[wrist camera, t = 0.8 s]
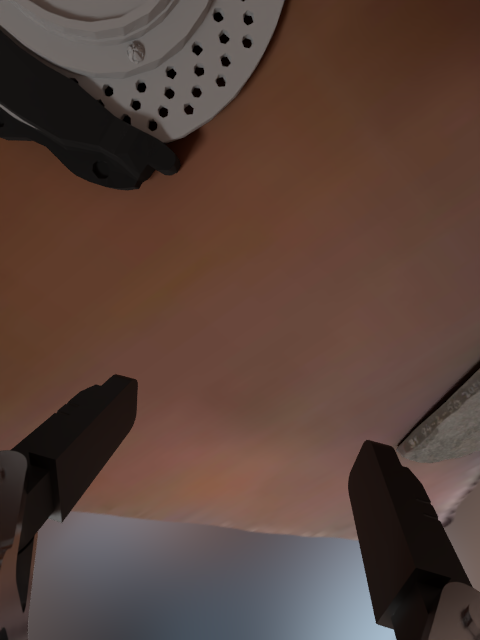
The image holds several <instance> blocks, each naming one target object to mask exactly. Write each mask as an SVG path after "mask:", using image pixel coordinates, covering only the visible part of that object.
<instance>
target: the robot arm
mask: <svg viewBox="0 0 480 640" xmlns="http://www.w3.org/2000/svg"><path fill="white" fill-rule="evenodd" d="M137 390H138V382H137V380H136V379H132V378H129V377H125V376H121V375H117V374H115V375H113V376H112V377H111V378H109V379H108V380H107V381H106V382H105V383H104V384H103V385H102V386H99V385H94V386H92V387H89V388H87V389H85V390H83V391H81V392H79V393H78V394H77V395H76V396H74V397H73V398H72V399H71V400H70V401H69V402H68V403H67V404H65V405H64V406H63V407H61V408H60V409H59V410H58V411H57V413H54V414H53V415H52V416H51V417H50V418H48V419H47V420H46V421H45V422H44V423H42V424H41V425H40V426H39V427H38V428H37V429H35V430H34V431H33V432H32V433H31V434H29V435H28V436H27V437H26V438H25V439H23V440H22V441H21V442H20V443H19V444H18V445H16V446H15V447H14V448H13V449H11V450H5V451H0V640H28V619H29V609H30V600H31V591H32V581H33V571H34V564H35V555H36V545H37V537H38V532H37V531H38V530H39V529H40V528H41V526H42V525H43V524H44V523H45V521H46V520H47V519H52V520H54V521H58V522H61V523H62V522H63V520H64V519H65V518H66V517H67V515H68V514H69V513H70V511H71V510H72V509H73V507H74V506H75V504H76V503H77V502H78V500H79V499H80V498H81V496H82V495H83V494H84V492H85V491H86V490H87V488H88V487H89V486H90V484H91V483H92V482H93V480H94V479H95V477H96V476H97V475H98V473H99V472H100V471H101V469H102V468H103V467H104V465H105V464H106V463H107V461H108V460H109V459H110V457H111V456H112V455H113V453H114V452H115V450H116V449H117V448H118V446H119V445H120V444H121V442H122V441H123V440H124V438H125V437H126V436H127V434H128V433H129V432H130V430H131V428H132V426H133V424H134V421H135V418H136V411H137ZM348 491H349V497H350V501H351V506H352V511H353V516H354V520H355V525H356V530H357V535H358V539H359V544H360V549H361V554H362V558H363V563H364V568H365V573H366V577H367V582H368V587H369V592H370V596H371V601H372V606H373V611H374V615H375V620H376V624H378V625H382V626H385V627H388V628H391V629H394V631H395V635H396V639H397V640H480V592H479V591H477V590H476V589H474V588H473V587H472V585H471V583H470V581H469V579H468V577H467V575H466V573H465V571H464V569H463V567H462V565H461V563H460V561H459V559H458V557H457V554H456V552H455V550H454V548H453V546H452V544H451V542H450V540H449V538H448V536H447V534H446V532H445V530H444V528H443V526H442V524H441V522H440V521H438V516H437V514H436V512H435V510H434V507H433V506H432V505H431V504H430V503H431V501H430V499H429V497H428V495H427V493H426V491H425V489H424V487H423V485H422V484H421V482H420V481H419V480H418V479H417V478H416V476H415V475H414V474H413V473H412V472H411V471H410V469H409V468H407V467H403V466H402V465H401V463H400V461H399V459H398V456H397V454H396V452H395V450H394V448H393V447H392V446H389V445H385V444H381V443H378V442H374V441H370V440H366V441H365V442H364V443H363V445H362V448H361V450H360V452H359V454H358V456H357V459H356V461H355V463H354V465H353V467H352V470H351V472H350V475H349V481H348Z"/></svg>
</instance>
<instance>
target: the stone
mask: <svg viewBox="0 0 480 640" xmlns="http://www.w3.org/2000/svg"><path fill="white" fill-rule="evenodd" d="M396 451H397V452H399V453H400V454H401V456H402V457H405V458H406V459H409V460H413V461H416V462H421V463H433V462H439V461H442V460H445V459H453V458H459V457H463V456H466V455H469V454H471V453H473V452H475V451H480V369H479V370H478V371H477V372H476V373H474V374H473V375H472V376H471V377H470V378H469V379H468V380H467V381H466V382H465V383H464V384H463V385H462V386H461V387H460V388H459V389H458V390H457V391H456V392H455V393H454V394H453V395H452V396H451V397H450V398H449V399H448V400H447V401H446V402H445V403H444V404H443V405H442V406H441V407H440V408H438V409H437V410H436V411H435V412H434V413H433V414H432V415H431V416H429V417H428V418H427V419H426V420H425V421H424V422H422V423H421V424H420V425H419V426H418V427H417V428H416V429H415V430H414V431H413V432H412V433H411V434H410V435H409V436H408V437H407V438H406V439H405V440H404V441H403V442H402V443H401V444H400V445H399V446H398V448H397V449H396Z"/></svg>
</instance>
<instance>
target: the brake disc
mask: <svg viewBox="0 0 480 640" xmlns="http://www.w3.org/2000/svg"><path fill="white" fill-rule="evenodd" d="M284 1H285V0H245V1H244V2H243V1H241V0H0V137H1V138H3V139H6V140H23V141H35V142H37V143H39V144H41V145H44V146H46V147H47V148H48V149H49V150H50V151H51V152H52V153H53V154H54V155H55V156H56V157H57V158H58V159H59V160H60V161H61V162H62V163H63V164H64V165H65V166H66V167H67V168H68V169H69V170H70V171H71V172H73V173H74V174H75V175H77V176H79V177H81V178H83V179H85V180H87V181H89V182H92V183H95V184H99V185H102V186H105V187H109V188H113V189H118V190H133V189H139V188H140V186H141V184H142V183H143V182H144V181H146V180H147V179H148V178H149V177H150V176H151V175H152V173H153V172H154V171H155V169H156V170H157V171H159V172H161V173H163V174H164V175H173V174H175V173H177V172H178V170H179V168H180V166H181V165H180V160H179V159H178V157H177V156H176V155H175V153H174V152H173V151H172V150H171V149H170V148H168V147H167V146H166V145H165V144H166V143H169V142H172V141H175V140H178V139H181V138H184V137H185V136H187V135H188V134H190V133H191V132H193V131H195V130H196V129H198V128H199V127H201V126H202V125H204V124H206V123H207V122H209V121H210V120H212V119H213V118H214V117H215V116H216V115H217V114H218V113H219V112H220V111H221V110H223V109H224V108H225V107H226V106H227V105H228V104H229V103H230V102H231V101H232V100H233V99H234V98H235V97H236V96H237V95H238V93H239V92H240V90H241V89H242V88H243V86H244V85H245V83H246V82H247V80H248V79H249V78H250V76H251V75H252V73H253V72H254V70H255V69H256V67H257V66H258V64H259V62H260V60H261V58H262V56H263V54H264V52H265V50H266V48H267V46H268V44H269V42H270V40H271V38H272V36H273V34H274V31H275V28H276V25H277V22H278V19H279V16H280V13H281V10H282V7H283V4H284ZM217 12H220V13H221V14H222V16H223V17H224V18H223V20H222V21H220V22H216V21H215V20H214V18H213V16H214V13H217ZM244 16H252V19H253V23H252V24H250V25H246V24H245V23H244V20H243V19H244ZM222 34H225V35H226V36H227V37H229V38H230V39H229V41H228V42H227V43H226V44H223V43H220V39H219V37H220V36H221V35H222ZM245 38H247V39H250V40H251V43H252V46H251V47H250V48H245V47H244V45H243V44H242V41H243V40H244V39H245ZM196 45H199V46H200V47H201V48H202V49H203V51H202V52H201V53H200V54H199V55H198V56H197V55H196V54H194V53H193V52H192V50H193V48H194V46H196ZM223 57H228V59H229V61H230V62H231V64H230V65H229V66H228V67H224V66H222V63H221V59H222V58H223ZM196 67H200V68H204V75H202V76H199V77H198V76H197V75H196V74H195V73H194V72H195V69H196ZM172 68H173V69H174V70H175V72H176V73H177V74H176V76H175V77H174V79H171V78H169V77H167V71H169V70H171V69H172ZM221 77H223V78H224V80H225V82H226V84H225V86H224V87H218V85H217V83H216V81H217V79H218V78H221ZM74 80H77V81H78V84H79V85H78V84H77V83H76V82H75V81H74ZM139 83H145V85H146V87H147V88H146V90H145V92H143V93H139V92H138V91H137V88H138V84H139ZM108 86H110V87H111V88H113V95H112V96H110V97H108V96H106V95H105V89H106V88H107V87H108ZM170 88H171V89H172V90H173V91H174V92H175V95H174V97H173V98H172V99H168V98H167V97H166V96H165V93H166V90H168V89H170ZM194 88H200V90H201V92H202V94H201V96H200V97H199V98H197V97H193V95H192V91H193V90H194ZM100 101H101V102H103V103H104V105H105V106H103V105H101V104H100V103H99V102H100ZM133 101H140V103H141V109H139V110H137V111H135V110H134V109H133V108H132V104H133ZM188 105H191V106H192V107H193V108H194V110H193V114H190V115H187V114H186V113H185V111H184V109H185V108H186V107H187V106H188ZM163 107H164V108H166V109H168V116H166V117H164V118H162V117H161V116H160V115H159V110H160V109H161V108H163ZM125 116H128V117H130V118H131V125H130V124H128V123H126V122H125V121H123V119H124V117H125ZM149 122H156V123H157V130H155V131H153V132H152V131H151V130H150V129H149Z"/></svg>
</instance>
